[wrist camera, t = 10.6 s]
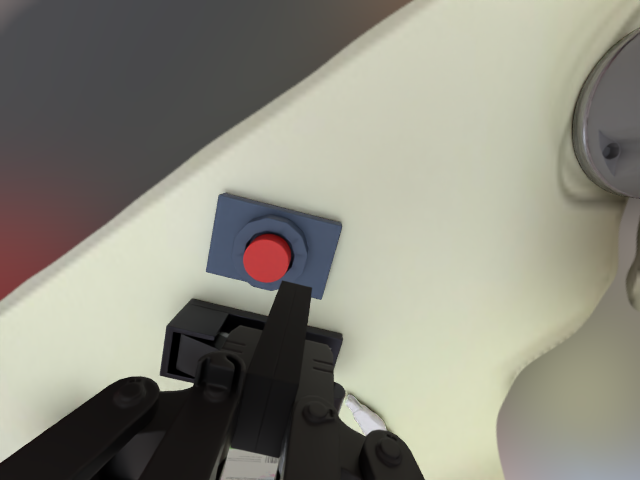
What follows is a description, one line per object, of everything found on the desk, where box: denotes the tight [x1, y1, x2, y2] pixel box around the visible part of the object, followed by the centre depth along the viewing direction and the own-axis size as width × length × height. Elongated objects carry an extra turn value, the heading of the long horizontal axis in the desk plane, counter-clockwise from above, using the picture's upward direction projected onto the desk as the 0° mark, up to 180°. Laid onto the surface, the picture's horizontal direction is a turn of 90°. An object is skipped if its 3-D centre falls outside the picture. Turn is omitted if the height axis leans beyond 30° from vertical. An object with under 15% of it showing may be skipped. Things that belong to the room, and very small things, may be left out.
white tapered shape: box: [345, 394, 387, 435], centre depth 37 cm, size 15×3×2 cm, turn 39°
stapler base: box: [160, 299, 343, 383], centre depth 32 cm, size 17×6×6 cm, turn 76°
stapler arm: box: [176, 330, 345, 415], centre depth 29 cm, size 16×4×3 cm, turn 76°
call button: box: [243, 234, 291, 283], centre depth 28 cm, size 4×4×2 cm
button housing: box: [206, 193, 342, 300], centre depth 30 cm, size 12×8×4 cm, turn 76°
